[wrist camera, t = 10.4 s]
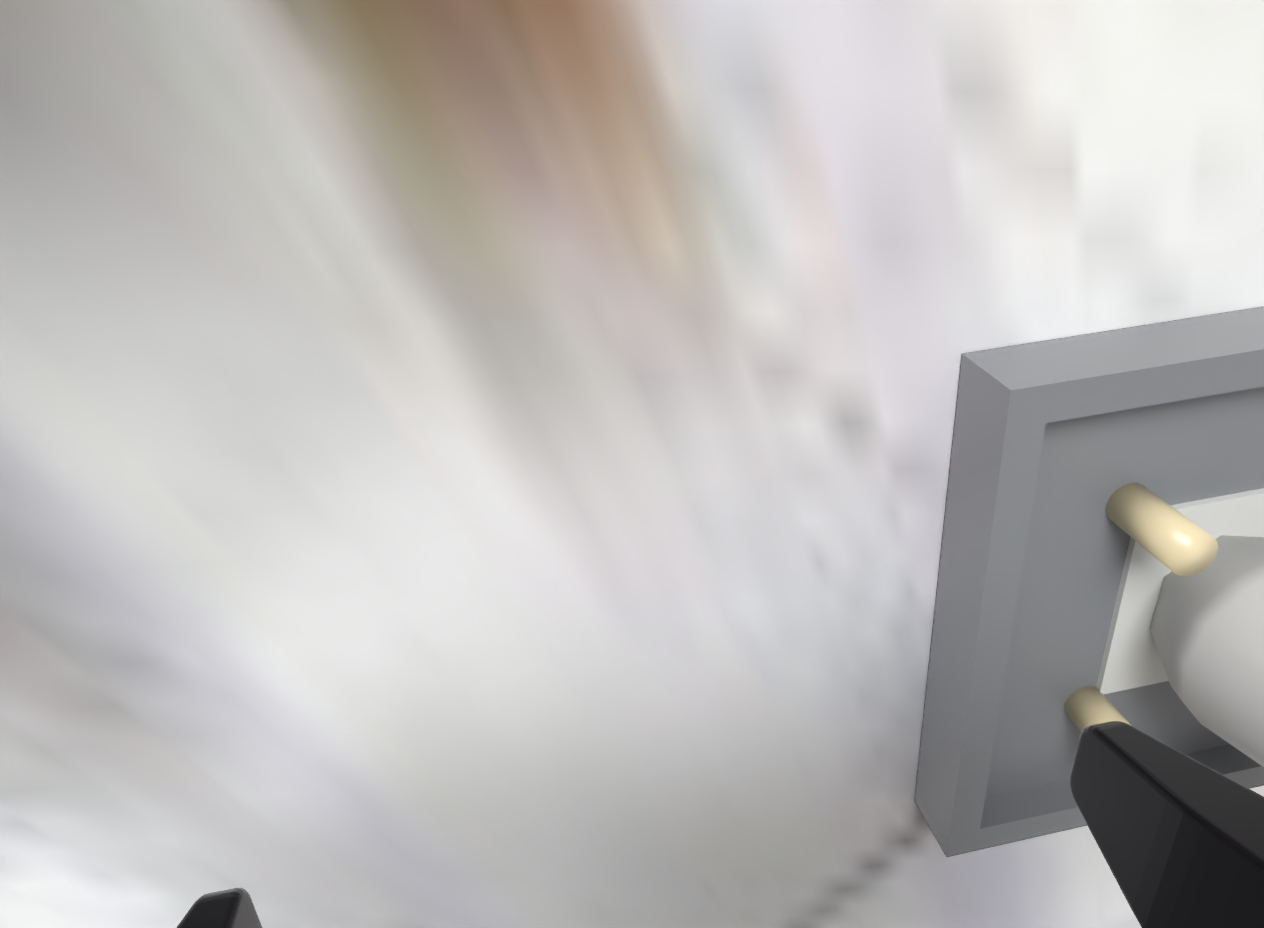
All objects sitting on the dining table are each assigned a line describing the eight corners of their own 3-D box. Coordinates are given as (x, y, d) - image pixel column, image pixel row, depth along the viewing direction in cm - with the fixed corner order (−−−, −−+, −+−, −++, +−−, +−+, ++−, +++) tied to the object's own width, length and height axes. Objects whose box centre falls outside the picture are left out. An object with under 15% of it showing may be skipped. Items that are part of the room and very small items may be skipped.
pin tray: (1343, 707, 32) (1442, 789, 29) (914, 800, 30) (970, 900, 27) (1528, 265, 24) (1693, 311, 21) (962, 353, 22) (1050, 419, 19)
